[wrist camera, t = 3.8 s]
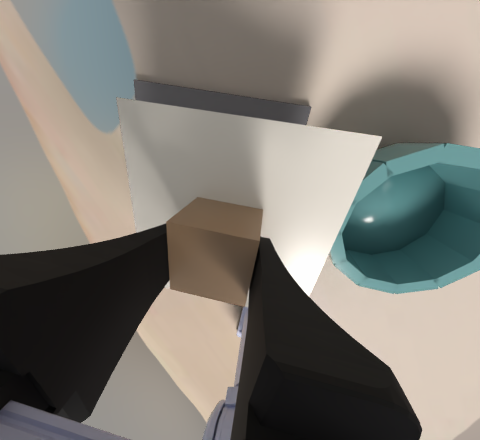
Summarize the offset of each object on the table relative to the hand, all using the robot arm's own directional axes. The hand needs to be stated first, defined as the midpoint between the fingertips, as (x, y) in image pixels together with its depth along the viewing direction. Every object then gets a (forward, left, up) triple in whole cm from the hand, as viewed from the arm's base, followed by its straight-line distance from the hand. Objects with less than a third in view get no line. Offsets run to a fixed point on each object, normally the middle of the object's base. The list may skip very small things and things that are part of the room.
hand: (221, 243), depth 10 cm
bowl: (+2, -13, -9) cm, 16 cm away
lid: (0, 0, -2) cm, 2 cm away
